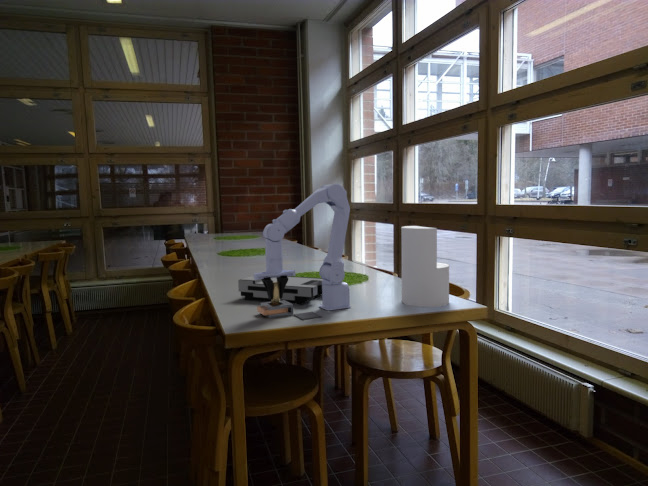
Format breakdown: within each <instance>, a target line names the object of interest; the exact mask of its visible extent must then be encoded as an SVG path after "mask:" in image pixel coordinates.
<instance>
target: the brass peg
mask: <svg viewBox="0 0 648 486" xmlns="http://www.w3.org/2000/svg"><path fill="white" fill-rule="evenodd" d="M272 294H273V299H272V300H271V306H274V305H280V284H279V282H273V286H272Z"/></svg>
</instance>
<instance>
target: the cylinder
mask: <svg viewBox="0 0 648 486" xmlns="http://www.w3.org/2000/svg"><path fill="white" fill-rule="evenodd" d="M400 230H401V232H400V233H401V236H400V237H401V244H400V245H401V303H403V304H405V305H407V306H410V307H411V306H412V307H419V308H420V307H421V308H436V307H443V306H447V305H448V304H450V265H449V264H448V263H444V262H438V260H437V259H438V257H437V256H438V250H437V249H438V243H437V242H438V239H437V238H438V228H437V227H429V226H428V227H427V226H420V225H405V226H401V228H400Z"/></svg>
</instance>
